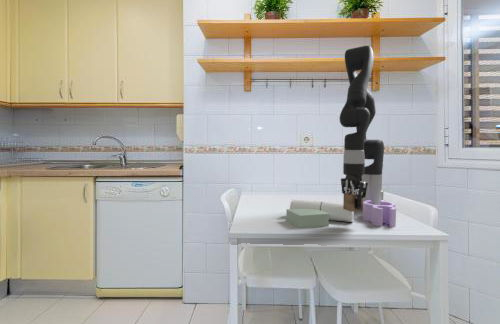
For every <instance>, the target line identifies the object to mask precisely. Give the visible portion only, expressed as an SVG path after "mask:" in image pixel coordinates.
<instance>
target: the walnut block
mask: <svg viewBox="0 0 500 324" xmlns="http://www.w3.org/2000/svg"><path fill="white" fill-rule="evenodd" d="M357 195H358V193H357ZM342 201H343V209H345V210H348V211H351V212H352V211H354V212H363V198H362V199H361V208H360V209H355V195H354V193H344V194H343V200H342Z"/></svg>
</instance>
